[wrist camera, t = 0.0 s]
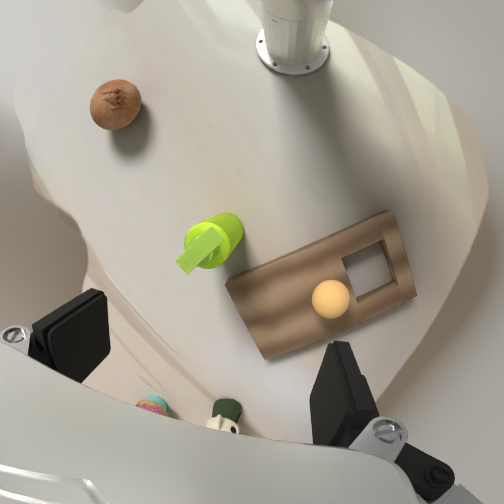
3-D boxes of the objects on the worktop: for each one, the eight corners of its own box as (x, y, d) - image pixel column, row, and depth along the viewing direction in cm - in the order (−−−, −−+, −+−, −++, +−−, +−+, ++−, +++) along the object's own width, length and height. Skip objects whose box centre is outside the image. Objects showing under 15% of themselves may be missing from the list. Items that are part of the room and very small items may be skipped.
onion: (150, 106, 47) (152, 90, 38) (119, 143, 46) (113, 134, 37) (116, 81, 43) (112, 61, 33) (85, 117, 42) (73, 104, 33)
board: (228, 279, 49) (224, 284, 46) (386, 210, 44) (392, 211, 41) (265, 351, 52) (264, 360, 49) (410, 290, 47) (417, 295, 44)
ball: (304, 283, 45) (307, 297, 39) (338, 269, 44) (346, 280, 38) (317, 314, 46) (322, 331, 40) (350, 300, 45) (358, 315, 39)
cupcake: (159, 386, 57) (140, 420, 45) (181, 411, 58) (165, 446, 47) (135, 394, 59) (115, 425, 47) (156, 417, 60) (139, 449, 48)
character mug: (244, 422, 57) (237, 464, 45) (215, 419, 58) (203, 460, 45) (243, 389, 55) (234, 433, 42) (210, 387, 55) (195, 429, 43)
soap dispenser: (255, 227, 47) (237, 255, 28) (225, 254, 48) (190, 298, 29) (231, 201, 46) (196, 211, 27) (202, 229, 48) (152, 257, 28)
